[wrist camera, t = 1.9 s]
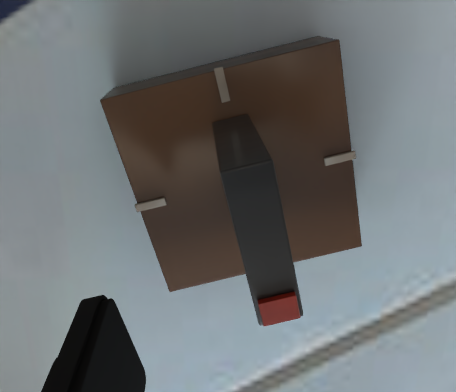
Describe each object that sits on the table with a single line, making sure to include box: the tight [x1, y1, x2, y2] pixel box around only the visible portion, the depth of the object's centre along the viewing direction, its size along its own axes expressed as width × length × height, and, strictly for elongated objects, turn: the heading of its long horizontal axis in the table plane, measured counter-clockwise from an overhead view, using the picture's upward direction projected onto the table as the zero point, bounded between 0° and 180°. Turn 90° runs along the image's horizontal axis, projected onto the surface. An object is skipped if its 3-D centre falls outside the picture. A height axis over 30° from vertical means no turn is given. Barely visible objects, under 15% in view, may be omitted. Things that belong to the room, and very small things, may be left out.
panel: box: [100, 36, 362, 292], centre depth 20 cm, size 10×10×3 cm
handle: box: [212, 114, 303, 326], centre depth 16 cm, size 6×2×6 cm, turn 13°
